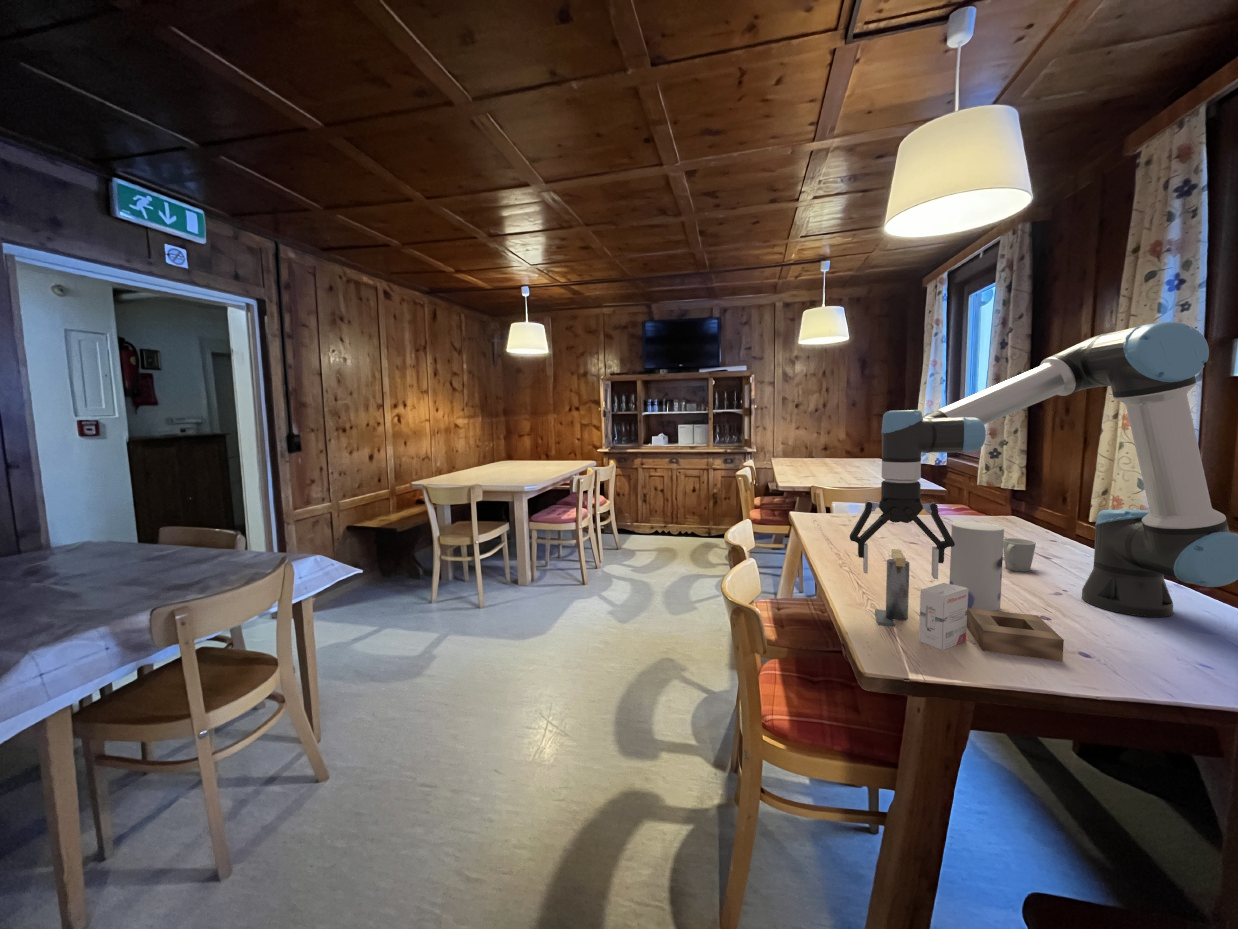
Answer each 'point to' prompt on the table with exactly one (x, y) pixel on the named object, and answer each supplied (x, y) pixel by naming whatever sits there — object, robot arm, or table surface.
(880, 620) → the mat
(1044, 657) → the block
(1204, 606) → the table surface
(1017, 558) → the cup
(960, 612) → the ink box
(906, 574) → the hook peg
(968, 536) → the container
